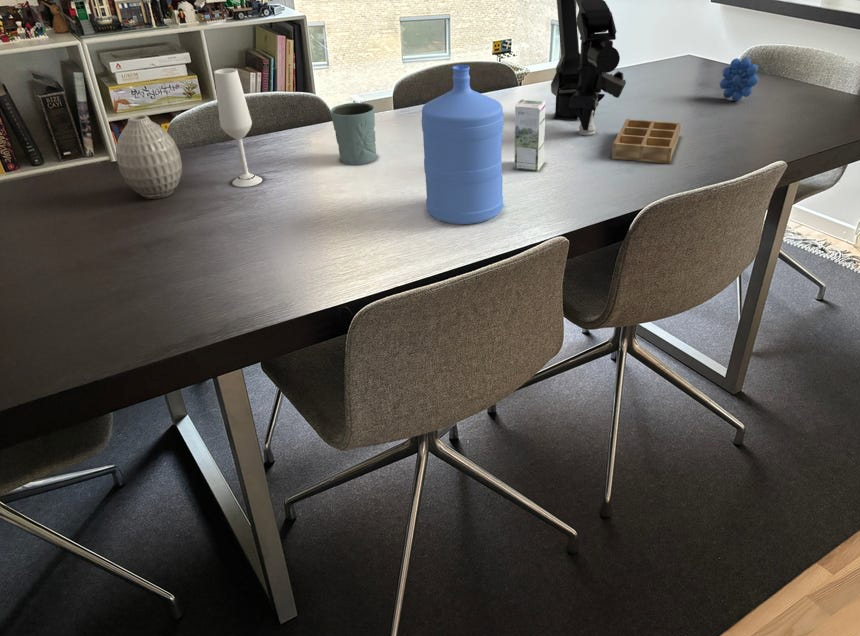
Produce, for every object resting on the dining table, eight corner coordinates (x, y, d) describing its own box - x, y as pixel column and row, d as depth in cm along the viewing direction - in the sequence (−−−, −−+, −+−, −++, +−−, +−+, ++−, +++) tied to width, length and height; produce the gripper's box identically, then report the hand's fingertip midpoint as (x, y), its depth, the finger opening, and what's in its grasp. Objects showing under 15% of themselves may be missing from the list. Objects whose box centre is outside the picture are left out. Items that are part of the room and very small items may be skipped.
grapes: (762, 102, 211) (771, 57, 204) (747, 107, 207) (755, 61, 201) (727, 94, 219) (734, 50, 212) (712, 98, 215) (719, 54, 208)
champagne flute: (252, 173, 174) (231, 65, 160) (268, 180, 170) (248, 70, 156) (226, 181, 170) (203, 71, 157) (242, 189, 166) (219, 76, 153)
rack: (611, 158, 176) (612, 143, 174) (625, 133, 192) (626, 118, 190) (669, 163, 172) (671, 148, 170) (678, 137, 188) (680, 122, 186)
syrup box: (544, 163, 175) (546, 99, 167) (537, 172, 170) (539, 107, 162) (520, 161, 176) (521, 98, 168) (513, 169, 172) (514, 105, 164)
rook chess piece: (596, 136, 190) (599, 104, 186) (579, 136, 190) (581, 104, 186) (594, 130, 194) (596, 99, 189) (577, 130, 194) (579, 99, 189)
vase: (131, 209, 158) (108, 130, 149) (124, 190, 167) (101, 114, 158) (193, 197, 163) (175, 120, 153) (183, 179, 172) (164, 105, 163)
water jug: (478, 232, 144) (475, 81, 129) (411, 216, 152) (401, 72, 136) (516, 204, 155) (519, 62, 139) (453, 190, 162) (448, 54, 146)
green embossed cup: (387, 158, 180) (383, 107, 174) (355, 169, 174) (349, 117, 168) (360, 149, 186) (354, 100, 180) (327, 160, 180) (321, 109, 174)
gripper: (618, 74, 173) (612, 141, 182) (631, 56, 187) (625, 119, 196) (570, 71, 176) (567, 137, 185) (586, 53, 190) (582, 115, 199)
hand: (587, 127), depth 191 cm, fingers closed on rook chess piece, 4 cm apart
